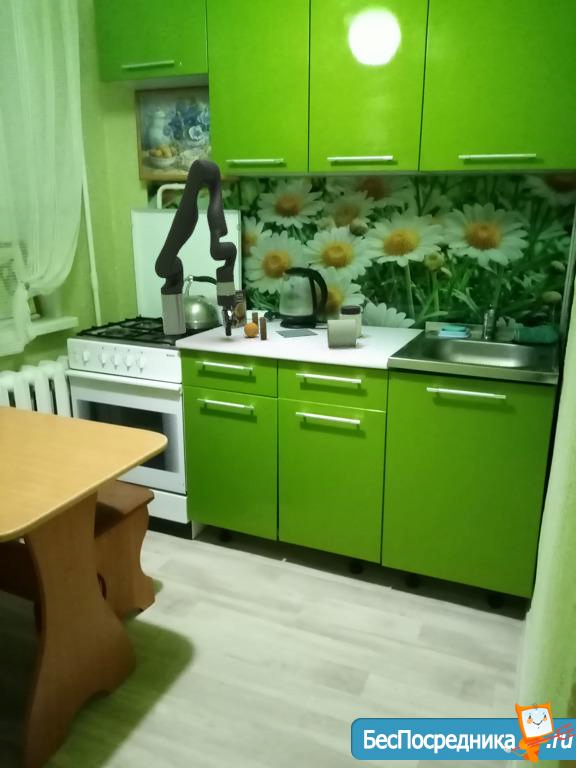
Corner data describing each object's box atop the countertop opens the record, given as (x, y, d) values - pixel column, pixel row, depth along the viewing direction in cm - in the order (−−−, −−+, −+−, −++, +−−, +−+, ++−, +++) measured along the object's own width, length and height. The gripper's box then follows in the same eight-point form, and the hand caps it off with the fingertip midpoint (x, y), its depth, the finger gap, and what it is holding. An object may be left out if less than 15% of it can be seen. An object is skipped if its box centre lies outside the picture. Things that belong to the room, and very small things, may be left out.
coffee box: (234, 328, 266) (232, 292, 261) (223, 327, 269) (221, 291, 265) (247, 325, 273) (246, 289, 268) (237, 324, 276) (235, 289, 272)
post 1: (253, 334, 251) (252, 313, 248) (252, 333, 253) (251, 312, 251) (259, 334, 251) (258, 312, 249) (258, 332, 254) (257, 312, 251)
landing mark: (285, 337, 242) (285, 337, 242) (275, 331, 255) (275, 331, 255) (317, 334, 246) (317, 334, 246) (306, 328, 259) (306, 328, 259)
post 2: (261, 340, 239) (260, 318, 236) (259, 339, 241) (258, 317, 239) (267, 339, 239) (266, 317, 237) (266, 338, 242) (265, 316, 239)
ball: (263, 329, 244) (254, 341, 244) (258, 327, 249) (250, 338, 249) (252, 320, 241) (243, 332, 241) (248, 318, 246) (239, 330, 246)
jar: (342, 339, 236) (341, 309, 233) (337, 335, 244) (337, 306, 241) (363, 337, 237) (364, 307, 234) (358, 333, 245) (358, 304, 242)
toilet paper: (353, 342, 229) (353, 317, 226) (356, 348, 219) (356, 321, 217) (327, 343, 229) (327, 318, 226) (329, 349, 219) (328, 322, 217)
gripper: (213, 292, 243) (216, 333, 247) (219, 295, 230) (222, 339, 235) (231, 290, 245) (234, 332, 249) (238, 294, 232) (241, 337, 237)
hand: (228, 335), depth 242 cm, fingers closed
